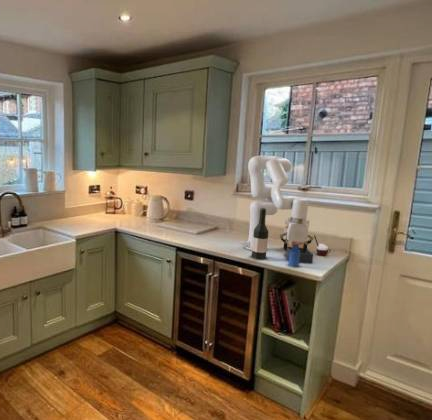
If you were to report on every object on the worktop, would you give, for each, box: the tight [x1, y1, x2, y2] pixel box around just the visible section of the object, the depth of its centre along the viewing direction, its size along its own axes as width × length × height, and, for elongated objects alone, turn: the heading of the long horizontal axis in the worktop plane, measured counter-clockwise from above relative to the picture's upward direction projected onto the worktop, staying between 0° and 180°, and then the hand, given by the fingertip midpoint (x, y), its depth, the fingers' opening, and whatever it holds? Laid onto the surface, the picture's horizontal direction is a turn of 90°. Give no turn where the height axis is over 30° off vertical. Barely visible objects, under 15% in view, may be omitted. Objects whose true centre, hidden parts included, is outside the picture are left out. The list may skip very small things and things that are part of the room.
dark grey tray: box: [284, 247, 314, 264], centre depth 214 cm, size 12×14×5 cm
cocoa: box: [313, 234, 331, 256], centre depth 222 cm, size 10×6×12 cm, turn 54°
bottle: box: [288, 244, 300, 268], centre depth 201 cm, size 5×5×12 cm
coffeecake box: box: [281, 218, 311, 250], centre depth 234 cm, size 15×7×20 cm, turn 115°
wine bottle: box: [251, 208, 269, 261], centre depth 213 cm, size 8×8×30 cm
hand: (294, 250), depth 200 cm, fingers open, 9 cm apart
